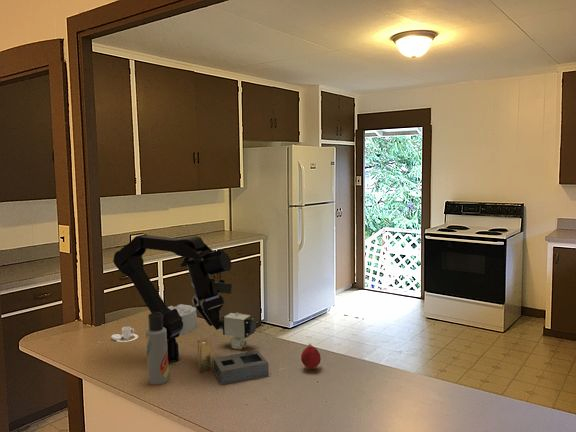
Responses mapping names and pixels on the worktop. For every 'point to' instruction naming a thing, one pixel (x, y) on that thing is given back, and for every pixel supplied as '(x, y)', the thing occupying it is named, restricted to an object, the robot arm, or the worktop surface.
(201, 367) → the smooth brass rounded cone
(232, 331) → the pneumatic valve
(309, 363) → the onion
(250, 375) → the socket block
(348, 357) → the worktop surface
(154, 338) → the lotion bottle
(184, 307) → the lumpy-topped squat cylinder
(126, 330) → the teacup and saucer
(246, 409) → the worktop surface
